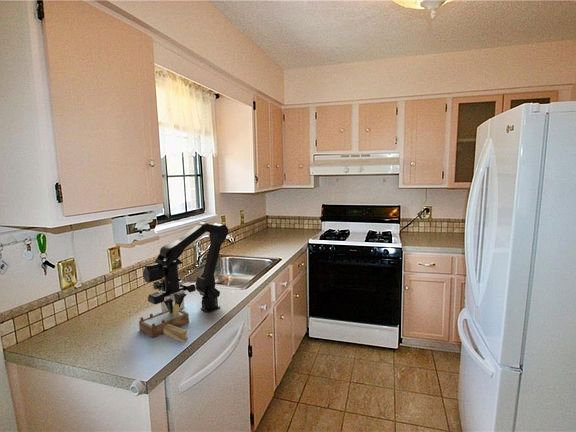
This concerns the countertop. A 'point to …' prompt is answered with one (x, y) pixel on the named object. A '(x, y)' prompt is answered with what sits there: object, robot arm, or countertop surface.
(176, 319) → the brown frame
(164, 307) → the small box
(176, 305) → the lid
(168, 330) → the tan block
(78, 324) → the countertop surface
